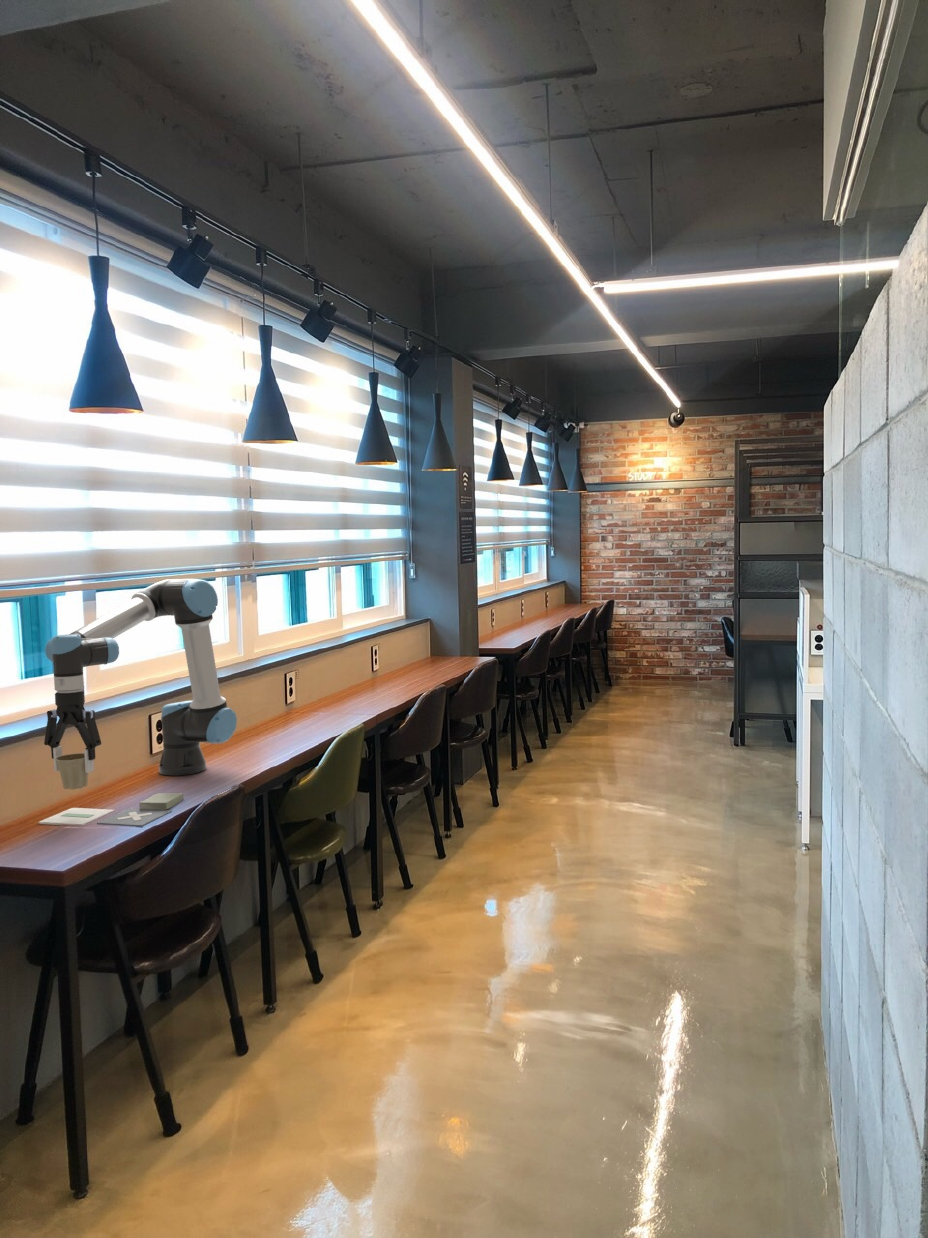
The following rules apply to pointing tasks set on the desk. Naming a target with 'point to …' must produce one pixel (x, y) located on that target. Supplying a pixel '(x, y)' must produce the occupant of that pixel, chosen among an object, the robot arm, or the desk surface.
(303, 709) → the desk surface
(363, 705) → the desk surface
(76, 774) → the flower pot
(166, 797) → the notebook
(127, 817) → the pad
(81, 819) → the pad
